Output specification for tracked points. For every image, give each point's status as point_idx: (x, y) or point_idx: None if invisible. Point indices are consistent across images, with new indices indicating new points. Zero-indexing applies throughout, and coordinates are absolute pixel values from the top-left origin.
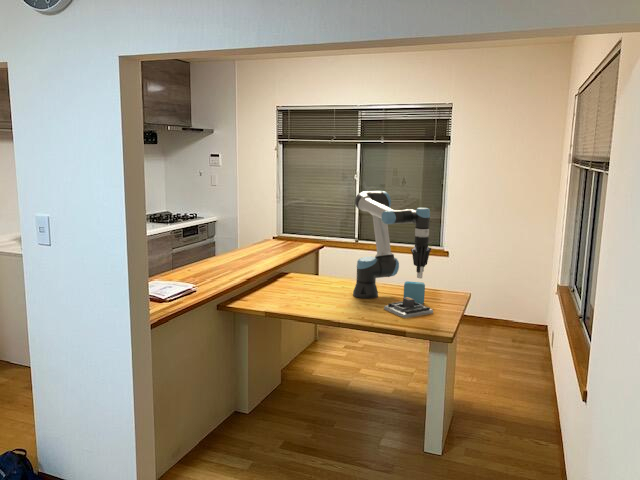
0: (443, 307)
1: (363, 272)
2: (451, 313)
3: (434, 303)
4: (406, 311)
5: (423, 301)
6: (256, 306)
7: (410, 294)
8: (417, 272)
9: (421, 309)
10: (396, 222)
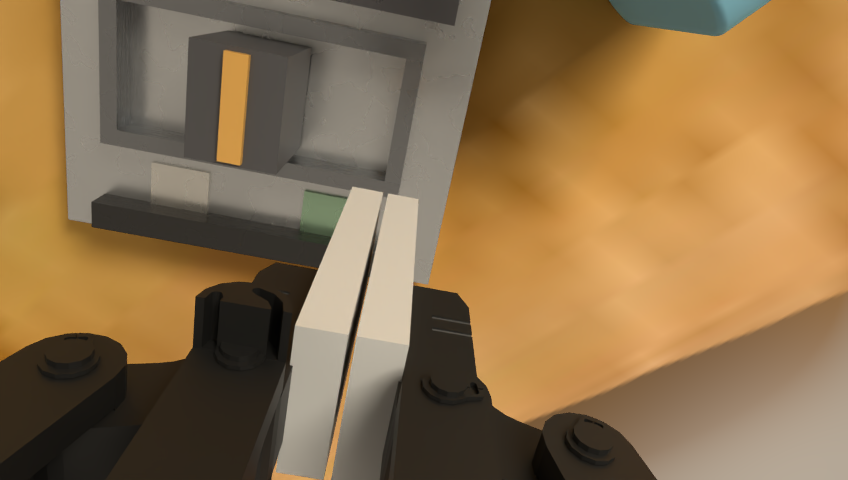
0: (668, 223)
1: None
2: (552, 363)
3: (739, 79)
4: (93, 218)
5: (629, 20)
6: None
7: None
8: (334, 241)
9: (285, 258)
10: None
